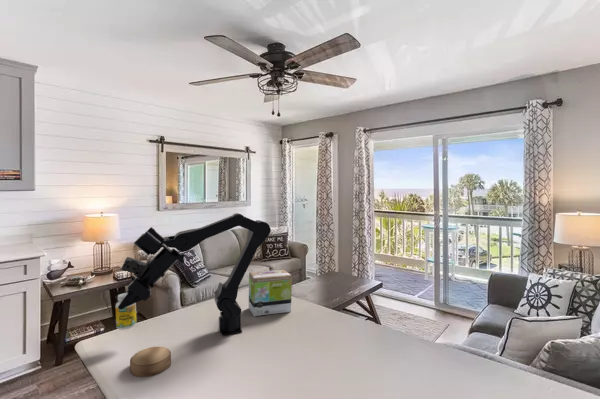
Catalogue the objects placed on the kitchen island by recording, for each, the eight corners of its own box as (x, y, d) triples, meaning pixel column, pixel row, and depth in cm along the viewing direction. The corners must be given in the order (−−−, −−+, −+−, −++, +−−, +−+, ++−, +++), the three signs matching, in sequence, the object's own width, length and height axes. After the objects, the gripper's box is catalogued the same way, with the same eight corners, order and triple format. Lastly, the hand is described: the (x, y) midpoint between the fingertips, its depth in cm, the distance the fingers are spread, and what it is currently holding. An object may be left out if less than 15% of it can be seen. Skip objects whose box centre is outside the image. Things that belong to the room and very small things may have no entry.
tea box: (254, 317, 118) (253, 278, 118) (248, 308, 127) (248, 271, 127) (292, 312, 124) (292, 274, 123) (283, 303, 133) (283, 268, 132)
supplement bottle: (135, 321, 99) (134, 290, 99) (137, 327, 95) (136, 295, 94) (115, 325, 96) (114, 293, 96) (116, 331, 92) (115, 298, 91)
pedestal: (170, 353, 92) (170, 343, 92) (171, 371, 83) (171, 360, 83) (131, 360, 88) (131, 350, 88) (128, 380, 79) (128, 368, 79)
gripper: (141, 243, 105) (104, 280, 101) (135, 253, 87) (90, 298, 84) (168, 264, 108) (132, 301, 104) (167, 278, 91) (124, 323, 87)
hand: (120, 305), depth 95 cm, fingers closed on supplement bottle, 5 cm apart
